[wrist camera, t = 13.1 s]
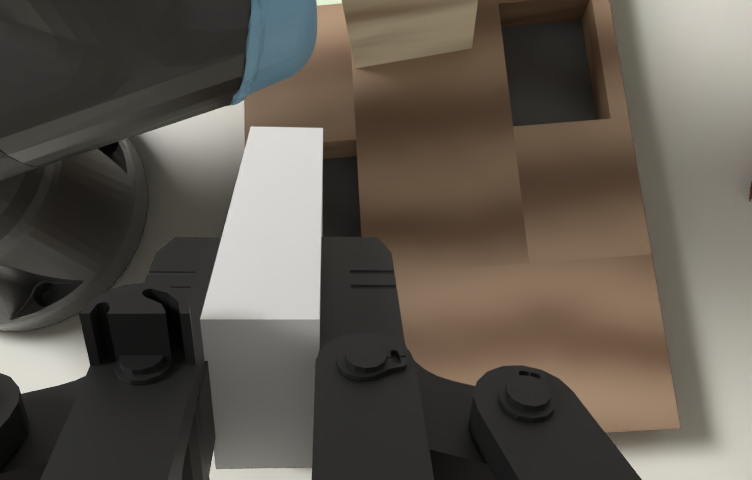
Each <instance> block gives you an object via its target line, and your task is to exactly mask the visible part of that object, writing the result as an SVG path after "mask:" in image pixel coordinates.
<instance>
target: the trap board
mask: <svg viewBox="0 0 752 480" xmlns="http://www.w3.org/2000/svg"><path fill="white" fill-rule="evenodd" d="M316 2H317V39H316V44H315V48H314V50H313V53H312V55H311V57H310V59H309V61H308V63H307V64H306V65H305V66H304V67H303V68H302V69H301V70H300V71H299V72H298V73H296V74H295V75H293V76H291V77H289V78H287V79H285V80H282V81H280V82H278V83H275V84H273V85H271V86H268V87H266V88H264V89H261V90H259V91H257V92H254V93H252V94H250V95H247V97H246V98H245V99H244V104H245V146H246V143H247V139H248V135H249V131H250V127H251V126H253V127H301V128H323V206H322V237H378V238H379V239H380V240H381V242H382V243H383V244H384V245H385V246H386V247H387V248H388V249H389V250H390V252H391V253H392V259H393V266H394V274H395V279H396V289H397V292H398V299H399V306H400V312H401V319H402V326H403V333H404V339H405V344H406V347H407V349H408V350H409V351H410V352H411V355H412V357H413V359H414V361H415V362H417V363H418V364H419V365H420V366H421V367H423V368H424V369H425V370H427V371H429V372H431V373H433V374H435V375H437V376H439V377H442V378H446V379H449V380H452V381H456V382H460V383H465V384H469V385H473V386H476V382H477V381H478V380H479V379H480V378H481V377H482V376H483V375H484V374H485V373H486V372H487V371H490V370H493V369H495V368H498V367H501V366H513V365H523V366H528V367H532V368H537V369H541V370H543V371H545V372H547V373H549V374H551V375H553V376H555V377H557V378H559V379H560V380H561V381H563V382H564V383H565V384H566V385H567V386H568V387H569V388H570V389H571V390H572V391H573V392H574V393H575V394H576V396H577V397H578V398H579V399H580V401H581V402H582V403H583V405H584V406H585V407H586V409H587V410H588V411H589V412H590V414H591V415H592V416H593V418H594V419H595V420H596V421H597V423H598V424H599V425H600V427H601V428H602V429H603V430H604V432H605V433H610V432H627V431H644V430H661V429H678V428H680V423H679V417H678V411H677V405H676V399H675V393H674V387H673V381H672V375H671V369H670V363H669V357H668V351H667V345H666V339H665V333H664V327H663V321H662V315H661V309H660V303H659V297H658V291H657V285H656V279H655V273H654V266H653V260H652V254H651V248H650V242H649V236H648V230H647V224H646V218H645V212H644V206H643V200H642V194H641V188H640V182H639V176H638V170H637V164H636V158H635V152H634V146H633V140H632V134H631V128H630V122H629V116H628V110H627V104H626V98H625V92H624V86H623V80H622V74H621V68H620V62H619V56H618V50H617V44H616V38H615V32H614V26H613V20H612V14H611V8H610V2H609V0H478V4H477V12H476V20H475V27H474V35H473V43H472V48H471V49H465V50H460V51H454V52H448V53H442V54H437V55H431V56H425V57H419V58H414V59H408V60H402V61H396V62H391V63H385V64H379V65H373V66H368V67H362V68H356V69H355V66H354V60H353V55H352V50H351V45H350V40H349V35H348V30H347V25H346V20H345V15H344V10H343V5H342V0H316Z"/></svg>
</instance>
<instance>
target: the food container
mask: <svg viewBox="0 0 752 480" xmlns="http://www.w3.org/2000/svg"><path fill="white" fill-rule="evenodd" d="M749 201H752V183H751V187H750V197H749Z"/></svg>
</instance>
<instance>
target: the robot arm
mask: <svg viewBox="0 0 752 480" xmlns="http://www.w3.org/2000/svg"><path fill="white" fill-rule="evenodd" d="M316 39H317V2H316V0H0V330H1V331H25V330H32V329H37V328H42V327H45V326H49V325H52V324H55V323H58V322H60V321H63V320H65V319H67V318H69V317H71V316H73V315H75V314H77V313H78V312H80V311H81V312H80V313H79V316H80V320H81V325H82V329H83V334H84V339H85V343H86V348H87V352H88V357H89V362H90V368H89V370H88V372H87V375H86V376H84V377H82V378H80V379H78V380H76V381H72V382H69V383H66V384H62V385H59V386H55V387H50V388H46V389H41V390H37V391H32V392H28V393H24V394H21V393H20V390H19V387H18V386H17V384H16V383H15V382H14V381H13V380H12V378H11V377H9V376H7V375H4V374H1V373H0V480H210V479H209V472H210V466H211V461H212V455H213V450H214V455H215V465H216V469H242V468H305V467H312V480H642V479H641V478H640V477H639V476H638V474H637V473H636V472H635V470H634V469H633V468H632V467H631V465H630V464H629V463H628V461H627V460H626V459H625V458H624V456H623V455H622V454H621V452H620V451H619V450H618V449H617V447H616V446H615V445H614V443H613V442H612V441H611V439H610V438H609V437H608V436H607V434H606V433H605V432H604V430H603V429H602V428H601V427H600V425H599V424H598V423H597V421H596V420H595V419H594V418H593V416H592V415H591V414H590V412H589V411H588V410H587V409H586V407H585V406H584V405H583V403H582V402H581V401H580V399H579V398H578V397H577V396H576V394H575V393H574V392H573V391H572V390H571V389H570V388H569V387H568V386H567V385H566V384H565V383H564V382H563V381H561V380H560V379H559V378H557V377H555V376H553V375H551V374H549V373H547V372H545V371H543V370H541V369H537V368H532V367H528V366H523V365H513V366H501V367H498V368H495V369H493V370H490V371H487V372H486V373H485V374H484V375H483V376H482V377H481V378H480V379H479V380H478V381H477V382H476V386H473V385H469V384H465V383H460V382H456V381H452V380H449V379H446V378H442V377H439V376H437V375H435V374H433V373H431V372H429V371H427V370H425V369H424V368H423V367H421V366H420V365H419V364H418V363H417V362H415V361H414V359H413V357H412V355H411V352H410V351H409V350H408V349H407V347H406V344H405V339H404V333H403V326H402V319H401V312H400V306H399V299H398V292H397V289H396V279H395V274H394V266H393V259H392V253H391V252H390V250H389V249H388V248H387V247H386V246H385V245H384V244H383V243H382V242H381V240H380V239H379V238H378V237H322V206H323V128H301V127H253V126H251V127H250V131H249V135H248V139H247V143H246V146H245V150H244V154H243V158H242V162H241V165H240V169H239V173H238V177H237V181H236V184H235V188H234V192H233V196H232V200H231V203H230V207H229V211H228V215H227V219H226V222H225V226H224V230H223V234H222V238H182V237H175V238H174V239H173V240H172V241H171V242H169V243H168V244H167V245H166V246H165V247H163V248H162V249H161V250H160V251H159V252H157V254H156V256H155V259H154V261H153V263H152V266H151V268H150V271H149V275H148V276H147V278H146V281H145V283H142V284H133V285H125V286H122V287H119V288H116V289H112V290H109V291H107V290H108V289H109V288H110V287H111V286H112V285H113V284H114V283H115V281H116V280H117V279H118V278H119V276H120V275H121V274H122V272H123V271H124V270H125V268H126V267H127V265H128V263H129V262H130V260H131V258H132V256H133V254H134V252H135V251H136V248H137V246H138V244H139V241H140V238H141V235H142V232H143V229H144V225H145V220H146V214H147V204H148V191H147V181H146V176H145V172H144V168H143V165H142V162H141V160H140V157H139V155H138V153H137V151H136V149H135V147H134V146H133V144H132V142H131V141H130V139H129V138H130V137H133V136H137V135H140V134H143V133H146V132H149V131H152V130H155V129H158V128H161V127H164V126H167V125H170V124H173V123H176V122H179V121H182V120H185V119H188V118H191V117H194V116H197V115H200V114H203V113H206V112H209V111H212V110H215V109H218V108H221V107H224V106H229V105H235V104H238V103H240V102H241V101H243V100H244V99H245V98H246V97H247V95H250V94H252V93H254V92H257V91H259V90H261V89H264V88H266V87H268V86H271V85H273V84H275V83H278V82H280V81H282V80H285V79H287V78H289V77H291V76H293V75H295V74H296V73H298V72H299V71H300V70H301V69H302V68H303V67H304V66H305V65H306V64H307V63H308V61H309V59H310V57H311V55H312V53H313V50H314V48H315V44H316Z"/></svg>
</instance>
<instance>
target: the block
mask: <svg viewBox="0 0 752 480" xmlns="http://www.w3.org/2000/svg"><path fill="white" fill-rule="evenodd" d="M477 4H478V0H342V5H343V10H344V15H345V20H346V25H347V30H348V35H349V40H350V45H351V50H352V55H353V60H354V66H355V69H356V68H362V67H368V66H373V65H379V64H385V63H391V62H396V61H402V60H408V59H414V58H419V57H425V56H431V55H437V54H442V53H448V52H454V51H460V50H465V49H471V48H472V43H473V35H474V27H475V20H476V12H477Z"/></svg>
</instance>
